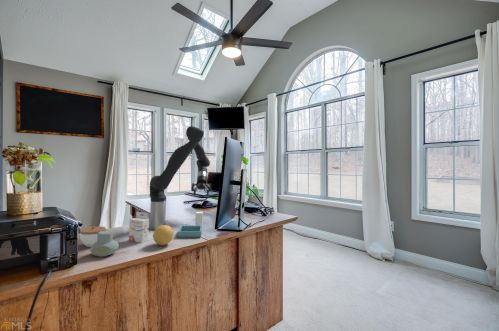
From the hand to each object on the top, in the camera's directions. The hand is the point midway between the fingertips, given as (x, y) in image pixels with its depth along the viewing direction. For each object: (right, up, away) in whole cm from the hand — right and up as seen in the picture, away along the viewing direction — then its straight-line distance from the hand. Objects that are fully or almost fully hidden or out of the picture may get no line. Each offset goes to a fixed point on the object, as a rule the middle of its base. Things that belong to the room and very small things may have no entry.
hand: (201, 195), depth 166 cm
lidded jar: (-43, -18, -51) cm, 69 cm away
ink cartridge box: (-24, -19, -42) cm, 52 cm away
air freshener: (-30, -19, -62) cm, 71 cm away
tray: (0, -19, -28) cm, 35 cm away
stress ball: (-9, -19, -47) cm, 52 cm away
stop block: (+1, -20, -13) cm, 24 cm away
